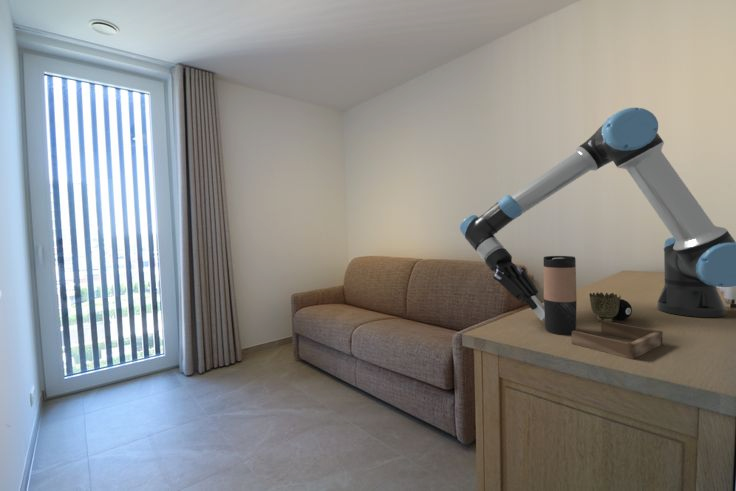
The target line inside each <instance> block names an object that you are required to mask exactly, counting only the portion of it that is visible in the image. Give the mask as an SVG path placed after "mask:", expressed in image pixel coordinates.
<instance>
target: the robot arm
mask: <svg viewBox="0 0 736 491" xmlns="http://www.w3.org/2000/svg"><path fill="white" fill-rule="evenodd" d="M658 131H659V121H658V119H657V117H656V116H655V114H654V113H653V112H651V111H650V110H648V109H646V108H643V107H642V108H641V107H627V108H624V109H622V110H619V111H617V112H616V113H614V114H612V115H611V116H609V117H608V118H607V119H606V121H605V122H604V123H603V124H602V125H601V126H600V127H599V128H598V129H597V130H596V131H595V132H594V133H593V134H592V135H591V136H590V137H589V138H588V139H587V140H586V141H585V142H583V143H581V144H580V145H579V146H577V148H576V151H575V152H573V154H571V155H570V156H568V157H566V158H565V159H564V160H562V161H561V162H559V163H558V164H556V165H555V166H553V167H552V168H550V169H549V170H547V171H546V172H544V173H543V174H541V175H540V176H539V177H537V178H535V179H534V180H532V181H531V182H529V183H528V184H527V185H525V186H523V187H522V188H521V189H519V190H518V191H516V192H515V193H513V194H512V195H509V194H507V195H505V196H503V198H500V199H499V200H498V201H496V203H494V205H492V206H491V207H490V208H489V209H488V210H487V211H485V212H484V213H483V214H481V215H480V216H478V215H476V214H471V215H469V216H468V217H465V218H464V219H463V220H462V221H461V223H460V225H459V230H460V232H461V234H462V235H463V237H464V238H465V240H467V242H468V243H469V245H470V246H471V247H472V248H473V249H474V251H475V252H476V253H477V254H478V255H479V257H480V258H481V259H482V260H483V262H485V264H486V266H487V268H489V270H490V271H491V272H495V274H494V275H493V276H492V278H493V279H494V280H496V281H497V282H498V283H500V284H501V286H502V287H504V288H505V289H506V290H507V291H508V292H509V293H510V294H511V295H512V296H513V297H514V298H515V299H516V300H517V301H520V303H522V304H524V303H526V304H527V306H528V307H529V308H530V309H531V310H532V311H533V312H534V314H535V315H536V317H537V318H538V319H539V320H540V321H541V322H542V321H545V311H544V303H542V302H541V301H540V300H539V298H538V297H537V294H538V293H539V291H538V289H537V288H536V286H535V284H534V283H533V281H532V280H531V278H530V277H529V275H528V274H527V271H526V269H525V268H524V267H521V268H519V267H518V266H517V265H516V264H515V263H513V261H512V260H513V257H512V254H510V252H509V251H508V250H507V249H506V248H504V247H505V246H504V245H503V244H502V243H501V242H500V241H499V240H498V239H497V237H496V236H495V234H497V233H498V232H500V231H501V230H502V229H503V228H506V226H508V224H510V223H511V222H512V221H515V220H516V219H518V218H519V217H520V216H522V215H523V214H524V213H526V212H528V211H529V210H531V209H532V208H534V207H535V206H537V205H539V204H540V203H542V202H543V201H545V200H547V199H548V198H550V197H551V196H552V195H555V194H556V193H557V192H559V191H561V190H562V189H564V188H565V187H567V186H568V185H569V184H571V183H573V182H575V181H576V180H577V179H579V178H581V177H582V176H584V175H585V174H587V173H588V172H589V171H597V170H599V169H600V168H602V167H604V166H606V165H608V164H609V163H612V162H613V163H614V165H615V166H616V168H618V169H623V170H626V171H627V172H628V174H629V175H630V177H631V178H632V179H633V181H634V182H635V184H636V185H637V187H638V188H639V190H640V191H641V192H642V194H643V195H644V197H645V198H646V199H647V201H648V202H649V204H650V206H651V207H652V208H653V210H654V211H655V213H656V214H657V216H658V217H659V219H661V221H662V222H663V224H664V226H665V227H666V229H667V230H668V232H669V233H670V235H671V236H672V237H668V238H666V239H665V242H664V247H663V251H664V254H663V255H664V256H663V258H664V262H663V263H664V265H663V266H664V268H663V269H664V270H663V271H664V286H663V288H662V289H661V290H662V291H661V292H660V295H659V298H658V300H657V302H656V303H657V307H656V308H657V309H658V310H659V311H661V312H663V313H664V312H665V313H667V314H673V315H678V316H685V317H686V316H687V317H695V318H696V317H697V318H720V317H724V316H725V314H726V308H725V305H724V303H723V300H722V298H721V296H720V294H719V291H718V289H717V287H719V288H731V287H736V240H735V239H734V237H733V236H732V235H731V234H730V232H729V231H728V229H727V228H726V227H723V226H722V227H721V226H717V225H715V224H714V223H713V221H712V220H711V219H710V218H709V216H708V214H707V213H706V212H705V211H704V209H703V207H702V206H701V205H700V204H699V202H698V200H697V199H696V198H695V196H694V195H693V193H692V192H691V191H690V189H689V188H688V187H687V185H686V184H685V183H684V181H683V180H682V178H681V177H680V175H679V174H678V173H677V171H676V170H675V168H674V167H673V165H672V164H671V162H670V161H669V160H668V158H667V157H666V156H665V154H664V153H663V152H662V149H663V147H664V144H665V141H664V140H663V139H662V137H661V135H659V133H658Z"/></svg>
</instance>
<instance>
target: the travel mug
mask: <svg viewBox="0 0 736 491" xmlns="http://www.w3.org/2000/svg"><path fill="white" fill-rule="evenodd" d="M576 267H577V264H576V257H575V256H572V255H571V256H570V255H548V256H543V306H544V311H545V320H544V324H545V325H544V326H545V331H546V332H548V333H551V334H553V335H560V336H570V335H571V336H572V331H577V303H578V302H577V270H576V269H577V268H576Z"/></svg>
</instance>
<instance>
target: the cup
mask: <svg viewBox="0 0 736 491" xmlns="http://www.w3.org/2000/svg"><path fill="white" fill-rule="evenodd" d="M588 295H589V301H590V308H591V311H592V312H593V314H594V315H595V316H597V322H600V323H601V321H608V322H613V320H614V318H612V317H614V316H616V315H617V314H618V311H619V306H620V299H622V296H621V295H619V296H618V295H617V293H614V292H611V293H608V292H605V294H604V293H603V292H600V293H599V292H596V293H595V292H592V293H591V292H590V293H589V294H588Z"/></svg>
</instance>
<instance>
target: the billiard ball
mask: <svg viewBox="0 0 736 491" xmlns="http://www.w3.org/2000/svg"><path fill="white" fill-rule="evenodd" d="M632 314H633V308H632V305H631V303H629V302H628V300H625V299H622V298H621V299H620V306H619V311H618V314H617V315H616V316H614V317H612V319H615V320H618V321H619V320H626V319H628V318H630V317H631V315H632Z"/></svg>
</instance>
